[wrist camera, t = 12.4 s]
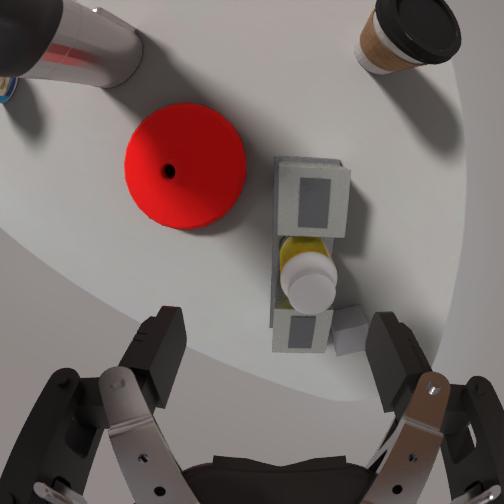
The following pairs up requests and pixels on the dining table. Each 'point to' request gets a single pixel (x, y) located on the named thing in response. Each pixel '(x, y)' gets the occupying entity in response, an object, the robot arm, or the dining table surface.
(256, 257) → the dining table surface
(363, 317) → the gray block
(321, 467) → the robot arm
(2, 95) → the beverage bottle
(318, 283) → the pill bottle
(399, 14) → the coffee cup
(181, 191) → the red disc with nozzle
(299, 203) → the white twin-block stand
